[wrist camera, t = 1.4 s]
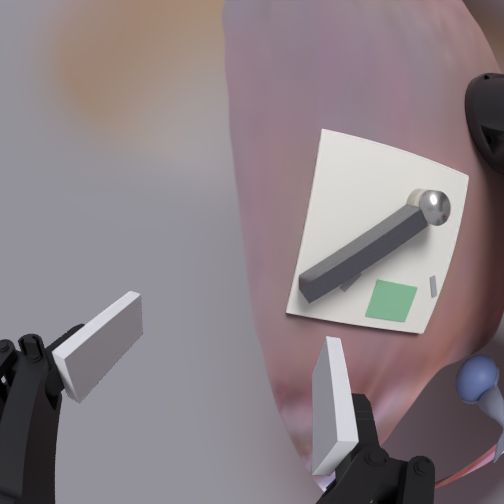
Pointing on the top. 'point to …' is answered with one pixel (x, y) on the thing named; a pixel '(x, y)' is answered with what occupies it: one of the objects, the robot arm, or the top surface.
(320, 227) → the dial board
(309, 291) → the ball-tipped lever
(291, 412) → the top surface
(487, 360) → the seal
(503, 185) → the top surface
